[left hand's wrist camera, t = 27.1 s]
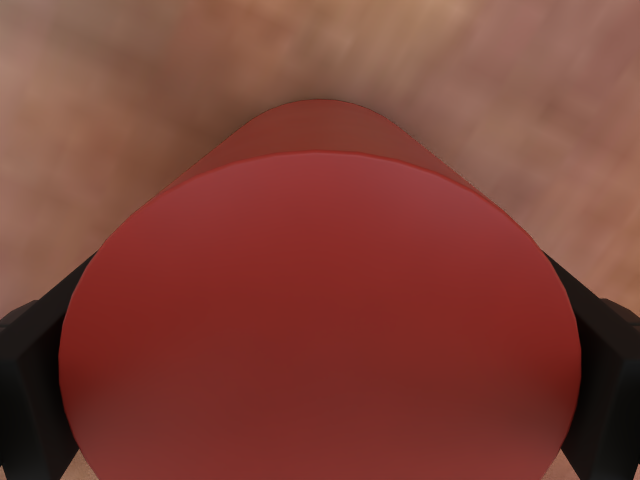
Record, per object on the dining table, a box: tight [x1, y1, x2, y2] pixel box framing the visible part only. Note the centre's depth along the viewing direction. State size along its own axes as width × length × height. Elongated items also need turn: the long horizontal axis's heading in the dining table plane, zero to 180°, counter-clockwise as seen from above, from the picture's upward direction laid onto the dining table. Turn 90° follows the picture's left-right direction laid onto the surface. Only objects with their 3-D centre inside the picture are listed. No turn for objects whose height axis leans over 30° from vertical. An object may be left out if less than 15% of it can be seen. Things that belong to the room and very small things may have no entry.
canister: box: [58, 99, 581, 480], centre depth 12 cm, size 9×9×10 cm
